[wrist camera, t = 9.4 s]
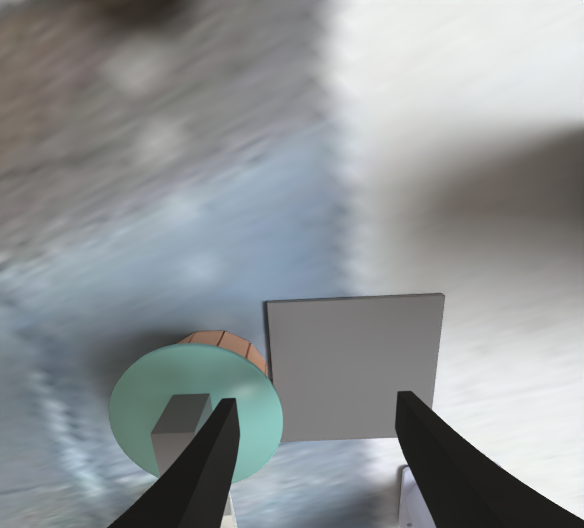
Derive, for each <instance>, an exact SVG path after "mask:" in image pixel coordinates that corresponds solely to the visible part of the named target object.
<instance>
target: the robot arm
mask: <svg viewBox="0 0 584 528" xmlns="http://www.w3.org/2000/svg"><path fill="white" fill-rule="evenodd" d="M395 430H396V434H397V437H398V440H399V443H400V446H401V449H402V452H403V454H404V457H405V459H406V461H407V463H408V466H409V467H405V468H404V469H403V474H402V485H401V497H400V508H399V520H398V522H399V525H400V527H402V528H584V520H583V519H581V518H579V517H577V516H576V515H574V514H572V513H571V512H569V511H567V510H565V509H564V508H562V507H560V506H559V505H557V504H555V503H554V502H552V501H551V500H549V499H547V498H546V497H544V496H543V495H541V494H539V493H538V492H536V491H535V490H533V489H532V488H530V487H529V486H527V485H526V484H524V483H523V482H521V481H520V480H518V479H517V478H515V477H514V476H512V475H511V474H509V473H508V472H507V471H505V470H504V469H503V468H501V466H500V465H499V464H496V463H494V462H493V461H492V460H490V459H489V458H488V457H486V456H485V455H484V454H482V453H481V452H480V451H479V450H477V449H476V448H475V447H474V446H472V445H471V444H470V443H469V442H468V441H466V440H465V439H464V438H463V437H461V436H460V435H459V434H458V433H457V432H456V431H454V430H453V429H452V428H451V427H450V426H449V425H448V424H447V423H445V422H444V421H443V420H442V419H441V418H440V417H439V416H438V415H437V414H436V413H435V412H433V411H432V410H431V409H430V408H429V407H428V406H427V405H426V404H425V403H424V402H423V401H422V400H421V399H420V398H419V397H417V396H416V395H415V394H414V393H413V392H412V391H397V404H396V418H395ZM239 441H240V426H239V418H238V410H237V402H236V398H222V399H221V400H220V402H219V403H218V405H217V406H216V408H215V409H214V411H213V412H212V413H211V415H210V416H209V418H208V419H207V421H206V422H205V423H204V425H203V426H202V427H201V429H200V430H199V431H198V433H197V434H196V435H195V437H194V438H193V439H192V441H191V442H190V443H189V445H188V446H187V447H186V448H185V449H184V451H183V452H182V453H181V454H180V455H179V457H178V458H177V459H176V460H175V461H174V463H173V464H172V465H171V466H170V467H169V468H168V469H167V471H166V472H165V473H164V474H163V475H162V476H161V477H160V478H159V479H158V480H157V481H156V482H155V483H154V484H153V486H152V487H151V488H149V489H148V490H147V491H146V492H145V493H144V494H143V495H142V496H141V497H140V498H139V499H138V500H137V501H136V502H135V503H134V504H133V505H132V506H131V507H130V508H129V509H128V510H127V511H126V512H125V513H123V514H122V515H121V516H120V517H119V518H118V519H117V520H115V521H114V522H113V523H112V524H111V525H110V526H109V527H107V528H220V527H221V522H222V518H223V514H224V510H225V506H226V502H227V498H228V494H229V490H230V486H231V482H232V478H233V474H234V470H235V466H236V461H237V455H238V449H239Z"/></svg>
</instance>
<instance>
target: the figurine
mask: <svg viewBox="0 0 584 528" xmlns="http://www.w3.org/2000/svg"><path fill="white" fill-rule="evenodd" d="M220 528H237V523H236V518H235V513H234V508H233V504H232V500H231V495H230V491H229V494H228V498H227V502H226V506H225V510H224V514H223V518H222V522H221V527H220Z"/></svg>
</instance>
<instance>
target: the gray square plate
mask: <svg viewBox="0 0 584 528" xmlns="http://www.w3.org/2000/svg"><path fill="white" fill-rule="evenodd" d="M444 300H445V295H443V294H442V293H436V294H413V295H390V296H367V297H344V298H321V299H298V300H276V301H268V302H267V308H268V321H269V334H270V347H271V360H272V373H273V385H274V387H275V389H276V391H277V393H278V395H279V398H280V401H281V404H282V410H283V430H282V436H281V440H280V442H293V441H319V440H345V439H370V438H396V437H397V434H396V430H395V418H396V404H397V391H412V392H413V393H414V394H415V395H416V396H417V397H419V398H420V399H421V400H422V401H423V402H424V403H425V404H426V405H427V406H428V407H429V408H430V409H431V410H432V403H433V395H434V386H435V378H436V369H437V360H438V352H439V343H440V335H441V326H442V317H443V309H444Z"/></svg>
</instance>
